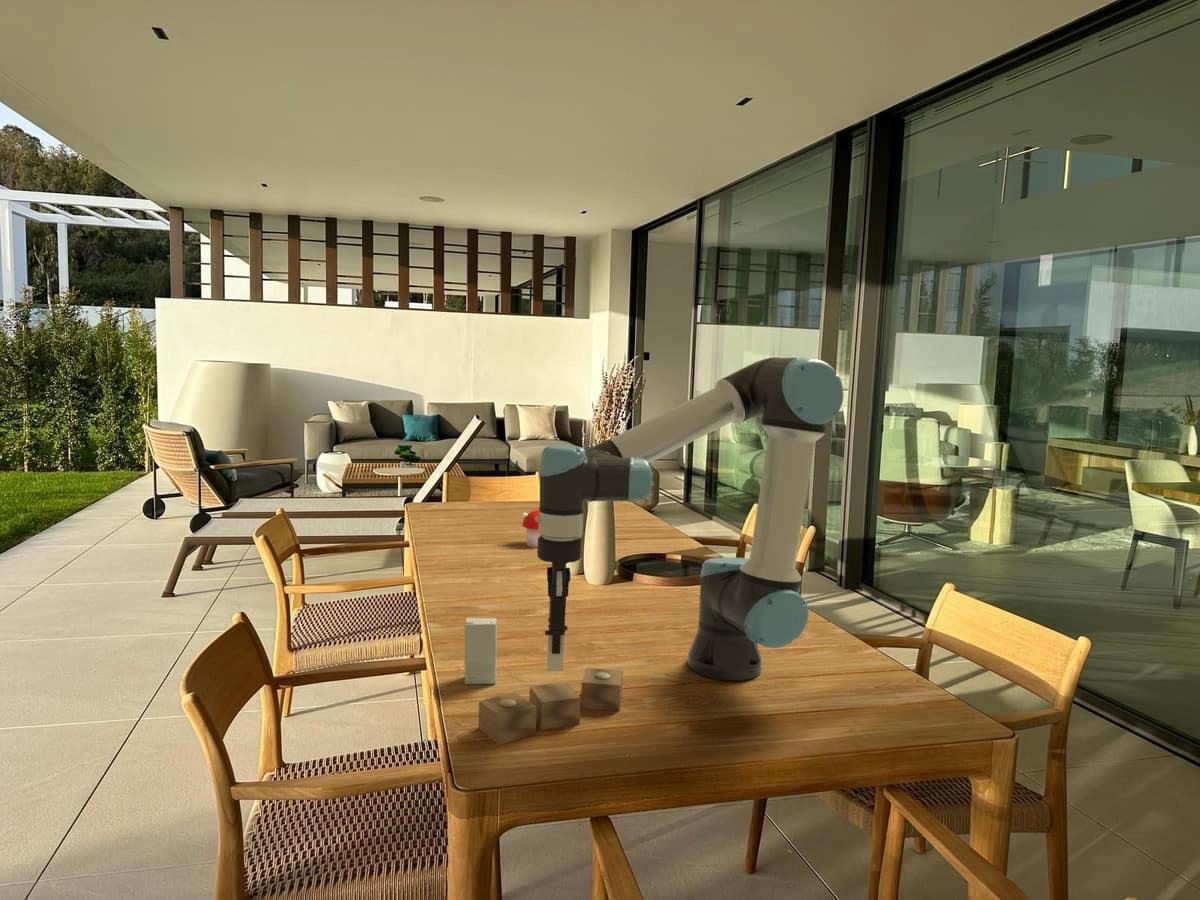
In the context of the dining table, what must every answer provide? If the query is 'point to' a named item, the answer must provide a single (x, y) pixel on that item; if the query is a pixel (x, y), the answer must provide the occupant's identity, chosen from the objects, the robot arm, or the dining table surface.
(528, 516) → the mushroom
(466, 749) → the dining table surface
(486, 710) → the dotted walnut block
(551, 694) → the plain walnut block
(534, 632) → the dining table surface
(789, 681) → the dining table surface
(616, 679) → the dotted walnut block
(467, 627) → the skincare box
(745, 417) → the robot arm
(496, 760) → the dining table surface
